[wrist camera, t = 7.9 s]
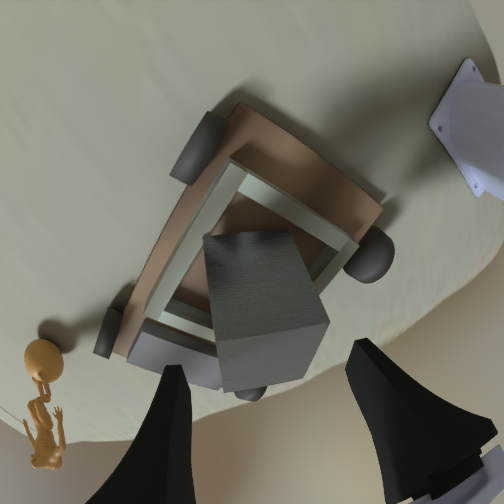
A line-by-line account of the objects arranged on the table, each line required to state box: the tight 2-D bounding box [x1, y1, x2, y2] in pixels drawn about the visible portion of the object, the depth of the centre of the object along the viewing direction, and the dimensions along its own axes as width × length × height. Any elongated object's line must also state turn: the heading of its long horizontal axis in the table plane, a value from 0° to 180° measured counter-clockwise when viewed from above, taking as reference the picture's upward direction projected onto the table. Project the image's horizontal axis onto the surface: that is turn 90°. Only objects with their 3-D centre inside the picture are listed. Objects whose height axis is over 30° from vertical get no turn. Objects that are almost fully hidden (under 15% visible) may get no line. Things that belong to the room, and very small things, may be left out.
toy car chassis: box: [93, 103, 395, 401], centre depth 18 cm, size 13×20×4 cm
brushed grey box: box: [202, 228, 330, 393], centre depth 15 cm, size 4×6×6 cm
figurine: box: [23, 339, 66, 470], centre depth 15 cm, size 8×6×12 cm
